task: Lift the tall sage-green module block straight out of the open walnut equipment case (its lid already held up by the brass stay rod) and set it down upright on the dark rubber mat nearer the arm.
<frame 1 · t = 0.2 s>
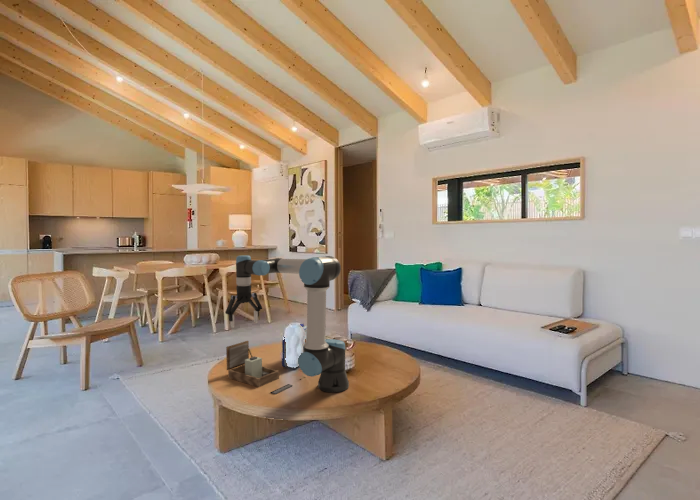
hand: (244, 325, 219), 27 cm above the table, fingers open, 13 cm apart
case: (253, 380, 214), on the table
mat: (276, 388, 203), on the table
module: (253, 378, 214), point 1 cm above the table, touching case
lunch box: (296, 363, 239), on the table
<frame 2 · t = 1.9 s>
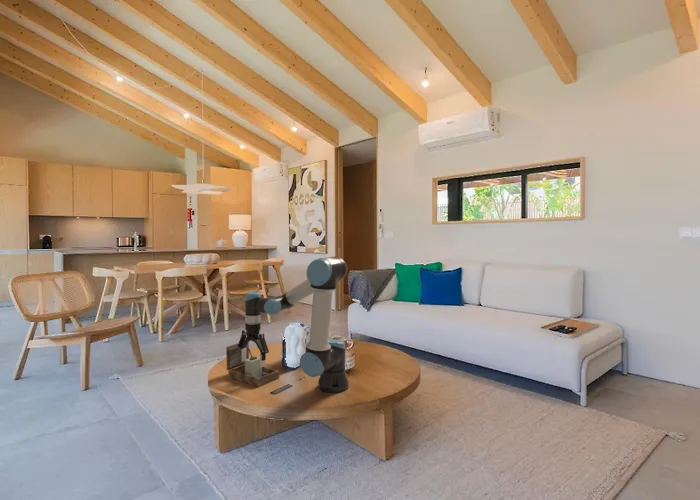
hand: (253, 363, 213), 9 cm above the table, fingers open, 13 cm apart
nothing on the table moved.
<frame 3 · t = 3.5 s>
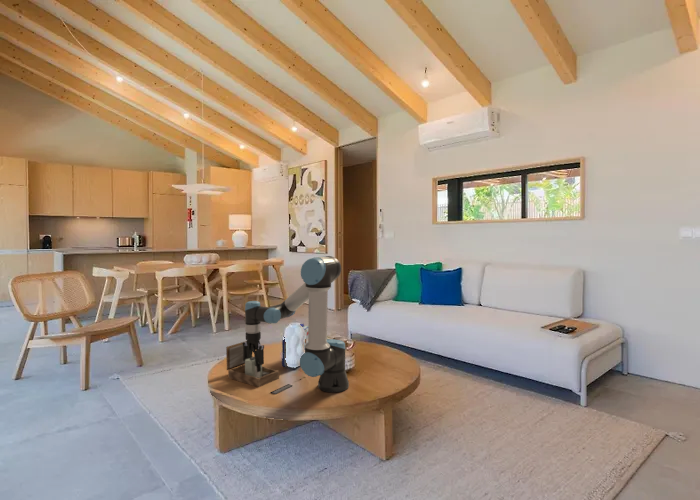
hand: (253, 376, 213), 2 cm above the table, fingers closed on module, 5 cm apart
module: (253, 378, 214), point 1 cm above the table, touching case, gripper
everything else where it was.
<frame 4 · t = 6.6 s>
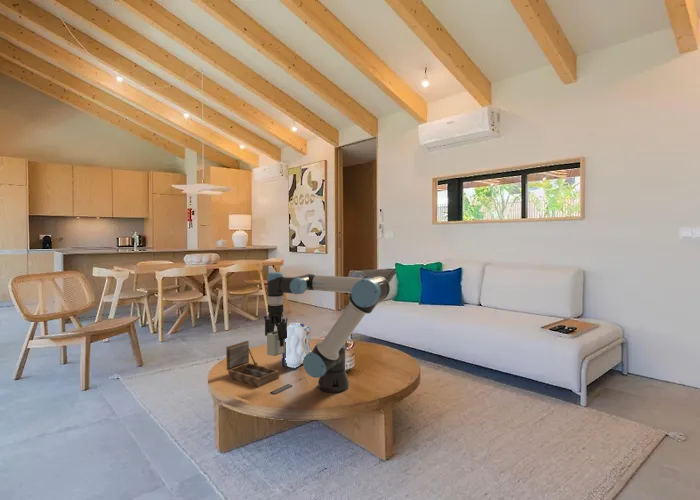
hand: (276, 351, 202), 18 cm above the table, fingers closed on module, 5 cm apart
module: (276, 353, 202), point 17 cm above the table, touching gripper
everything else where it was.
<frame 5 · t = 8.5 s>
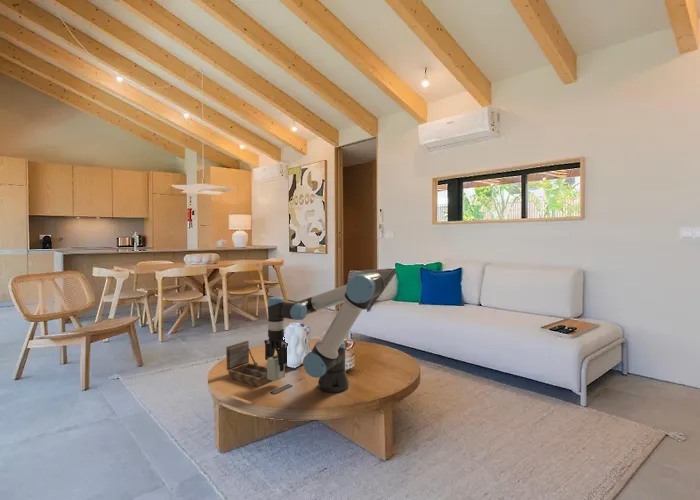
hand: (276, 376, 203), 6 cm above the table, fingers closed on module, 5 cm apart
module: (276, 377, 203), point 5 cm above the table, touching gripper
everything else where it was.
when the fingers open (3 cm above the table, at t = 9.9 s): module drops 1 cm, resting on mat.
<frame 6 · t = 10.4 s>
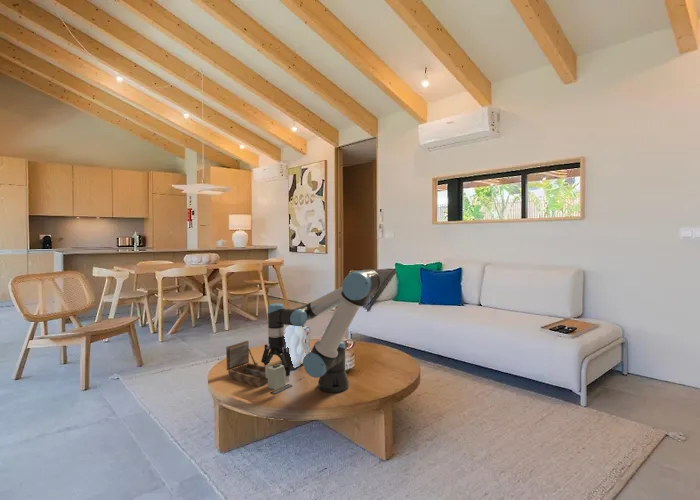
hand: (277, 379, 203), 4 cm above the table, fingers open, 12 cm apart
module: (276, 386, 203), point 1 cm above the table, touching mat
everything else where it was.
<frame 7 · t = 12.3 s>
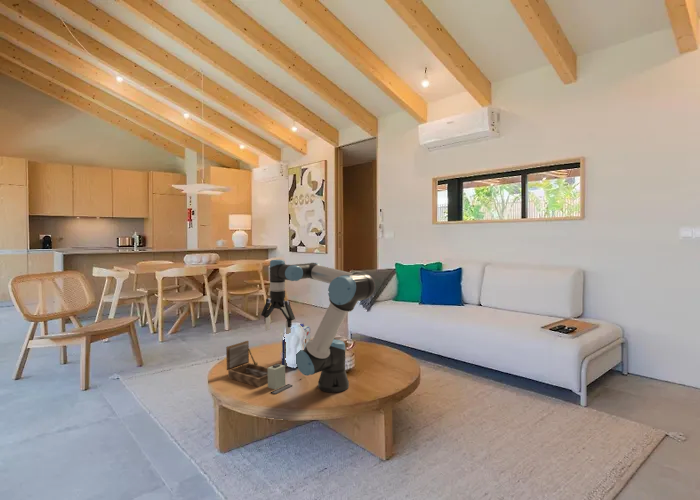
hand: (277, 331, 211), 25 cm above the table, fingers open, 13 cm apart
nothing on the table moved.
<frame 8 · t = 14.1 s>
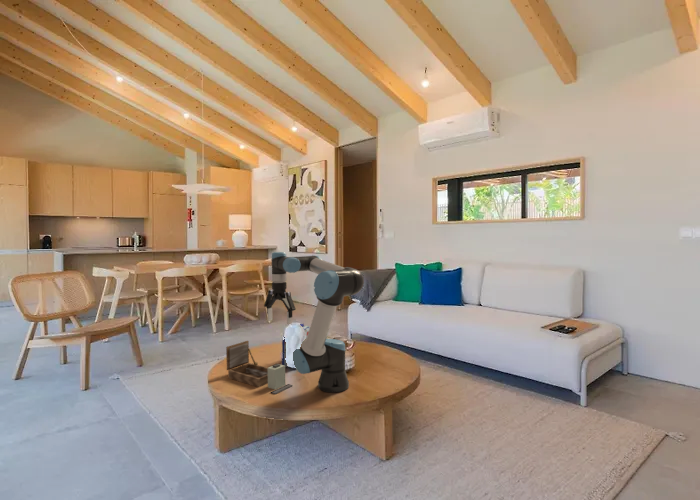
hand: (279, 322, 218), 29 cm above the table, fingers open, 13 cm apart
nothing on the table moved.
at the end: module inside the target area on the mat (0.1 cm from its centre), point 0.6 cm above the mat's base; module tilted 0°; the gripper is holding nothing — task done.
